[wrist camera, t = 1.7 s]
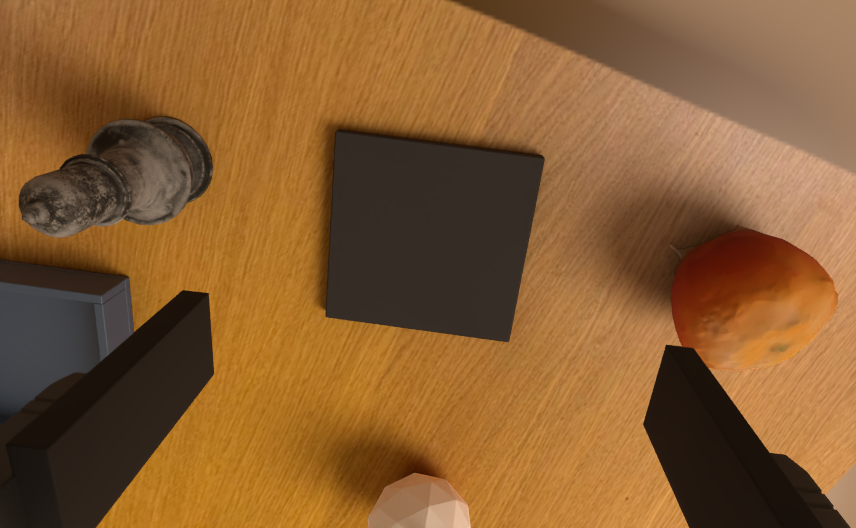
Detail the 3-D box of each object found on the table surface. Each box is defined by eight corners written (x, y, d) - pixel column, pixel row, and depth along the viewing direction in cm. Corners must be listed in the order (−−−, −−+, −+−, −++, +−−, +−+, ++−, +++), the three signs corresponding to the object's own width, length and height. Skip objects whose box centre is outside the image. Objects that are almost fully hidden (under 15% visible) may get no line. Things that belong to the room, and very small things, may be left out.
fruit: (766, 167, 30) (872, 279, 25) (769, 245, 36) (856, 349, 31) (624, 236, 32) (695, 353, 27) (649, 299, 38) (711, 406, 33)
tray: (-64, 250, 37) (-107, 267, 34) (129, 276, 37) (101, 295, 34) (-27, 412, 42) (-62, 438, 39) (144, 436, 42) (120, 464, 39)
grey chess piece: (203, 222, 35) (80, 305, 24) (114, 185, 35) (-55, 251, 24) (229, 136, 33) (106, 183, 22) (133, 94, 32) (-42, 121, 21)
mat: (338, 128, 32) (334, 130, 32) (543, 155, 32) (545, 158, 31) (328, 312, 37) (325, 317, 36) (508, 336, 37) (508, 342, 36)
